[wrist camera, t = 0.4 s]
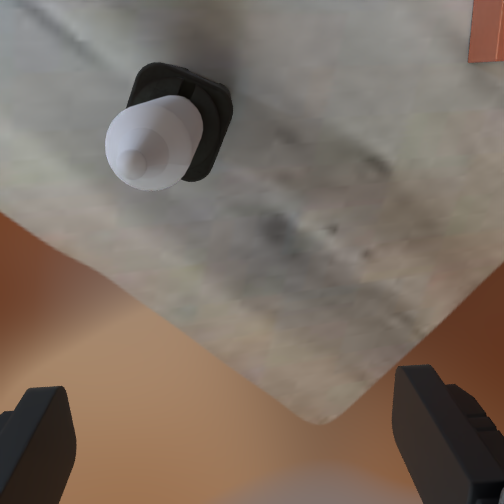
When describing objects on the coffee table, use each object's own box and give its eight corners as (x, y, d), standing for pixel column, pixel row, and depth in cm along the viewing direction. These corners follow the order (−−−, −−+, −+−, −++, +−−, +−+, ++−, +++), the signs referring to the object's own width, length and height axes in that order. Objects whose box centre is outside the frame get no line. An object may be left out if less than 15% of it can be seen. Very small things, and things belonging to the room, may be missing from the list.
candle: (235, 90, 36) (252, 114, 13) (211, 153, 38) (185, 280, 14) (171, 61, 35) (60, 31, 12) (148, 127, 37) (10, 217, 13)
